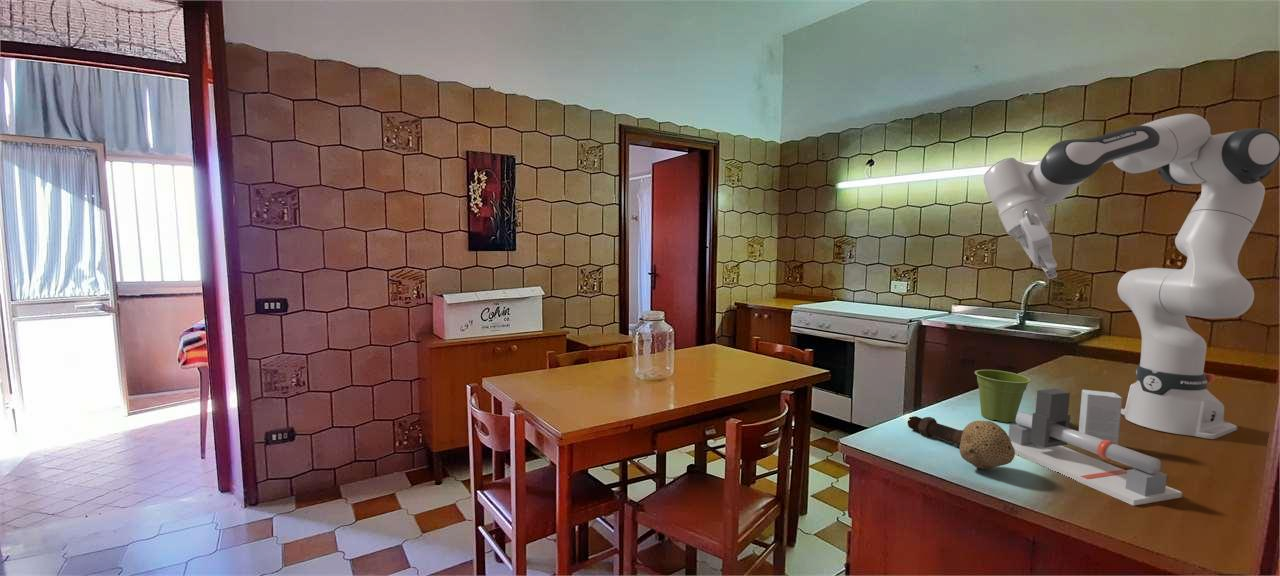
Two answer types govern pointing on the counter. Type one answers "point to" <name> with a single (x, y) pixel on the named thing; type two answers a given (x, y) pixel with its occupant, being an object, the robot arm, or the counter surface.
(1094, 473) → the pipe stand
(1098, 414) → the skincare box
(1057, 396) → the collar
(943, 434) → the bolt
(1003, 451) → the natural sponge
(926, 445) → the counter surface
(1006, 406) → the plant pot
